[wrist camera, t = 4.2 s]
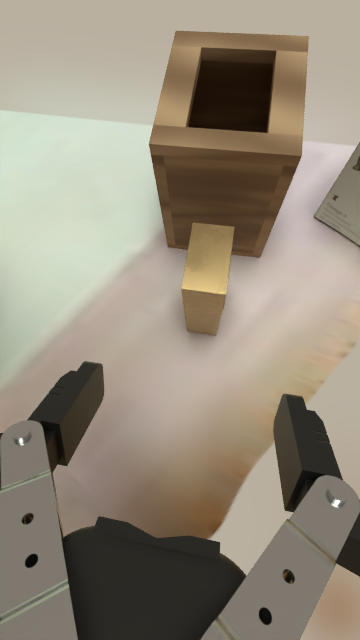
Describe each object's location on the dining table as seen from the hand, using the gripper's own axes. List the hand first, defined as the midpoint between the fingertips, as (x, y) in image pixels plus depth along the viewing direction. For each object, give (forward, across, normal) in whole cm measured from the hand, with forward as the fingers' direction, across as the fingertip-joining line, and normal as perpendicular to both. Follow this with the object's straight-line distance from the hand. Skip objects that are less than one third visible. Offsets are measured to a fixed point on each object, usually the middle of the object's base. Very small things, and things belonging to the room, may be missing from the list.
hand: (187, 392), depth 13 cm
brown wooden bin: (+22, 0, -5) cm, 23 cm away
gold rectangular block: (+15, 0, +3) cm, 15 cm away
